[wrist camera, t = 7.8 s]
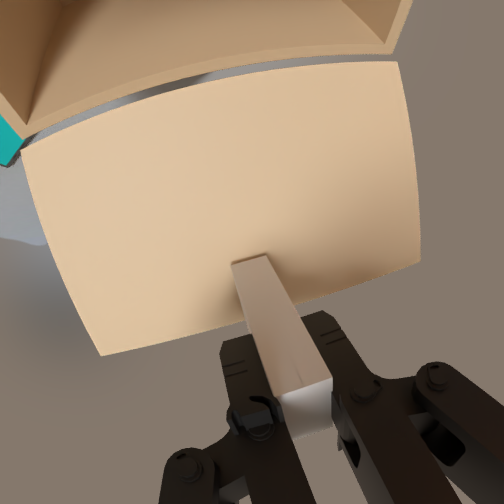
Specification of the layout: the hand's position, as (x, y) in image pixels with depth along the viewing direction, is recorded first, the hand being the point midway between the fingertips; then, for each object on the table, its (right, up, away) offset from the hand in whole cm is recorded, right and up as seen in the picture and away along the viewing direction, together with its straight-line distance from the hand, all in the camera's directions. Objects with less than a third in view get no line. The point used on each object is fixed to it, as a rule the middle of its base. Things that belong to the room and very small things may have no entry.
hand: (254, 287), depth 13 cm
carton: (-5, +22, -10) cm, 25 cm away
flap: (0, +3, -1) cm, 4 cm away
